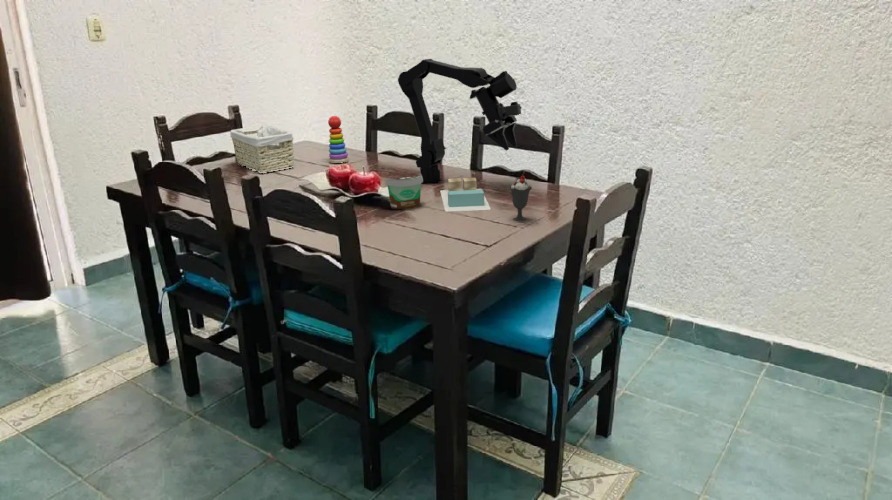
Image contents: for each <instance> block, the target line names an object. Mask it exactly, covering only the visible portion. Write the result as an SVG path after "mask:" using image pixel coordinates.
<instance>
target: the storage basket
mask: <svg viewBox="0 0 892 500" xmlns="http://www.w3.org/2000/svg"><path fill="white" fill-rule="evenodd" d="M253 134H254V135H255V134H257V135H256V136H252V135H253ZM230 138H231V140H232V144H233V148H234V153H235V157H236V161H237V164H238V163H239V164H242V165H244V166H246V167H249V168H252V169H255V170H256V171H260V172H265V171H271V170H277V169H282V168H287V167H292V166H294V167H295V165H294V164H295V163H294V147H293V146H294V144H293V141H294V136H293V133H292V132H291V131H287V130H285V129H281V128H278V127H274V126H270V125H264V124H263V125H257V126H256V125H255V126H249V127H244V128H243V127H242V128H236V129H231V130H230ZM239 164H238V165H239Z"/></svg>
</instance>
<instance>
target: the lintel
mask: <svg viewBox="0 0 892 500" xmlns="http://www.w3.org/2000/svg"><path fill="white" fill-rule="evenodd" d="M484 196H485V192H484V189H482V190H464V191H448V205H449V207H462V206H484Z"/></svg>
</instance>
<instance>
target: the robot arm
mask: <svg viewBox="0 0 892 500" xmlns="http://www.w3.org/2000/svg"><path fill="white" fill-rule="evenodd" d="M429 74H434V75H438V76H442V77H446V78H450V79H453V80H456V81H458V82H459V83H461V84H462V85H464V86H466V87H469V88H470V89H471V88H472V90H471V91H470V92H471V93H470V95H469V99H470V100H473V99H475V98H476V100H477V101H478V104H479V105H480V107H481V108H480V109H481V110H482V112H481V114H482V116H485V117H486V119H487V122H488V123H486V124H484V125H483V128H482V132H483V134H484V135H485V136H487V138H489V139H491V140H492V141H493V142H495V143H496V144H497V145H499V146H500V147H501V148H502V149H503V150H504V151H508V150H509V149H510V147H509V143H510V145H512V147H517V139H516V135H515V127H516V125H517V118H516V116H519V115H522V110H521V109H522V106H521V104H520V103H518V101H512V102H510V105H505V106H504V104H503V103H501V102H499V99H503V98H505V97H506V96H508V95H509V94H511V93H512V92H515V91H516V90H517V89H518V88H517V83H516V81H515V78H513V77H512V75H510V74H509V73H508V71H507V70H504V71H502V72H500V73H499V74H497V75H496V76H492V75H491V74H488V72H487V70H486V69H484V68H483V67H463V66H462V67H461V66H459V65H453V64H449V63H446V62H442V61H438V60H434V59H433V58H425V59H422V60H421V61H419V62H418V63H417V64H416V65H414V66H413V67H411V68H410V69H408V70H407V71H403V72H400V74H399V75H398V77H397V83H398V85H399V88H400V89H401V91H402V93H403V94H404V96H406V97H407V99H408V100H409V103H410V104H409V105H410V107H411V110H412V113H413V116H414V119H415V122H416V126H417V129H418V133H419V136H420V139H421V142H420V152H421V153H420V154H421V155H420V156H419V157H418V159H417V160H415V164H416V167H417V168H419V173H421V175H422V178H423V182H422V183H421V185H432V184H433V185H435V184H440V182H441V170H440V168H439V164H441V162H442V160H443V159H444V157H445V155H446V149H447V147H445V144H444V140H443V138H442V137H440V138H438V137H437V136H436V134H435V131H434V128H433V124H432V121H431V118H430V115H429V113H428V109H427V106H426V103H425V98H424V97H423V92H424V82H423V81H424V79H425V78H426V77H428V75H429ZM487 85H488V86H487ZM486 86H487V87H486ZM473 88H478V89H473ZM498 98H499V99H498Z"/></svg>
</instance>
